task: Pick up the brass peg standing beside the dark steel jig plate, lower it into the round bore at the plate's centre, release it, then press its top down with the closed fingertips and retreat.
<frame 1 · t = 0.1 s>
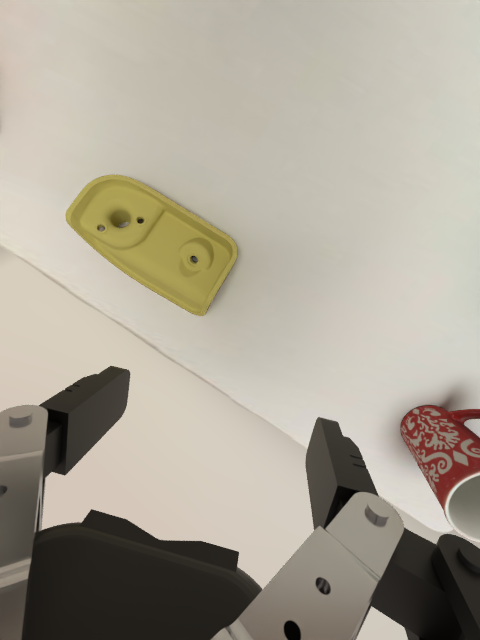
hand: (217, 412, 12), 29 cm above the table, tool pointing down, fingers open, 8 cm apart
plastic component: (168, 245, 41), on the table
mug: (433, 418, 41), on the table
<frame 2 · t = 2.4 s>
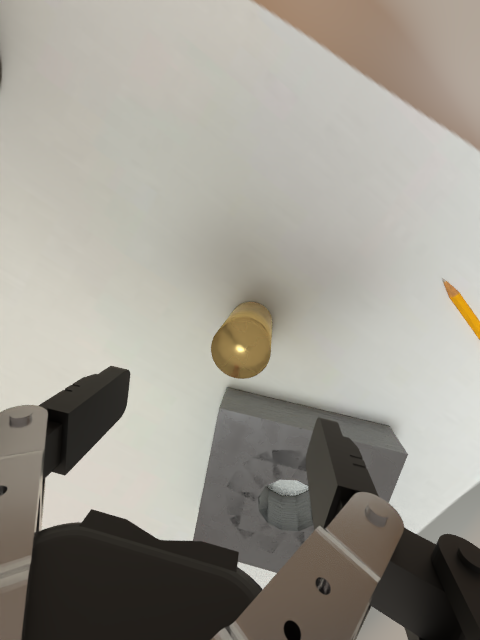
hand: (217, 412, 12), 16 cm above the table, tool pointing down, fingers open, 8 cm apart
brass peg: (250, 322, 27), on the table
jig: (287, 473, 30), on the table
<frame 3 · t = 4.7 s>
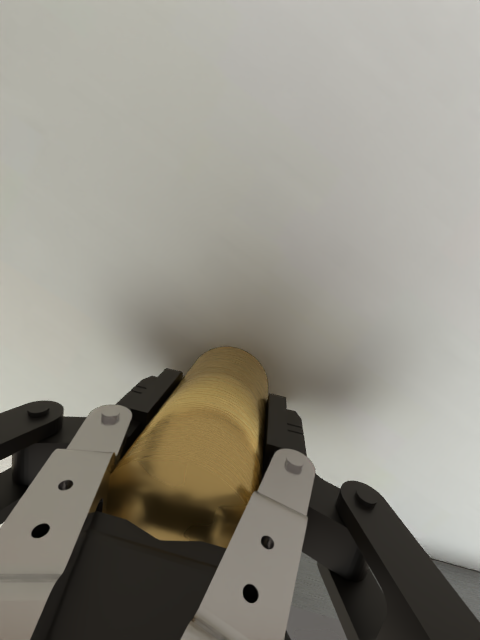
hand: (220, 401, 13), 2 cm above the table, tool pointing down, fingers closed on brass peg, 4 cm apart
brass peg: (228, 384, 14), on the table, touching gripper
jig: (293, 632, 17), on the table
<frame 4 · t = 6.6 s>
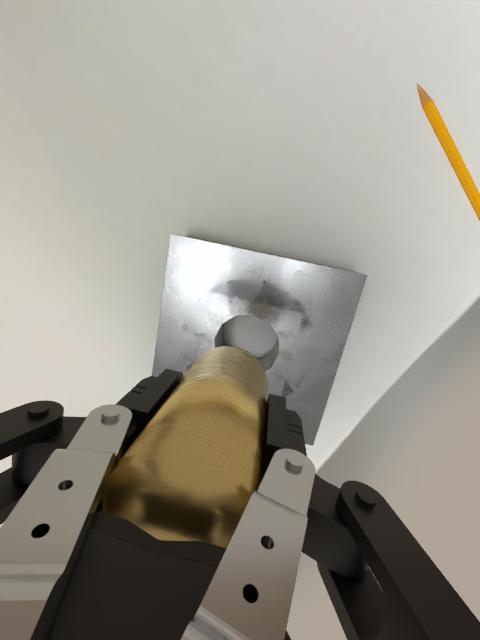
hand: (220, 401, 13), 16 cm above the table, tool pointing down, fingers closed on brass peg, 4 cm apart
brass peg: (228, 384, 14), point 15 cm above the table, touching gripper
jig: (250, 333, 29), on the table
pencil: (451, 162, 24), on the table
when the fingers open (4 cm above the table, at t = 8.6 s): brass peg drops 3 cm, resting in jig.
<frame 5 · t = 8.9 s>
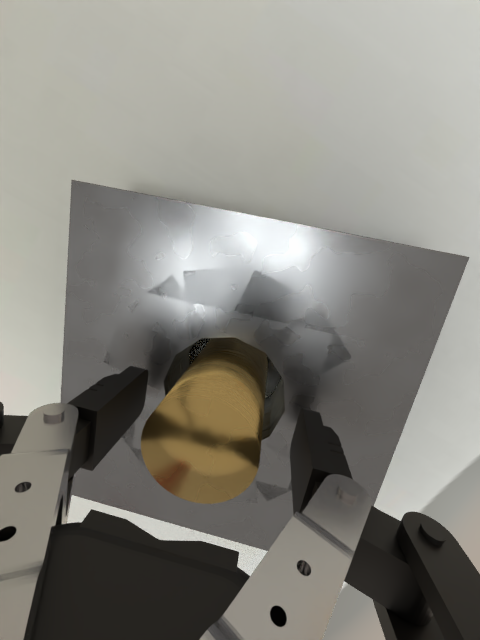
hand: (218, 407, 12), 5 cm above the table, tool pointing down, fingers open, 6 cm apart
brass peg: (234, 363, 17), resting in jig
jig: (235, 364, 17), on the table
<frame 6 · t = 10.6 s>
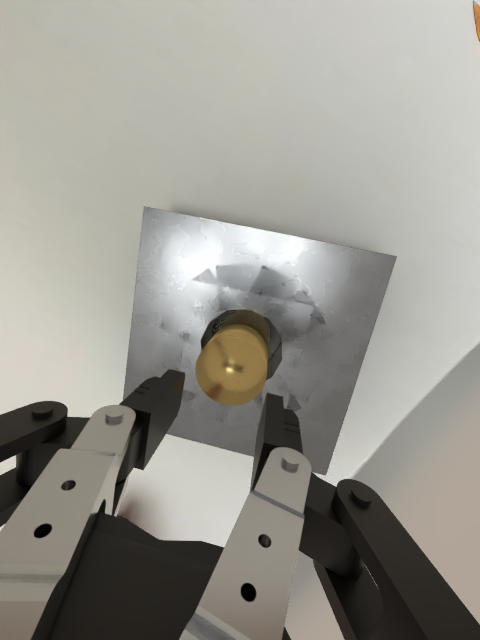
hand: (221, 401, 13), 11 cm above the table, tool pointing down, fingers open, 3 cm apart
brass peg: (245, 333, 24), resting in jig
jig: (246, 334, 24), on the table
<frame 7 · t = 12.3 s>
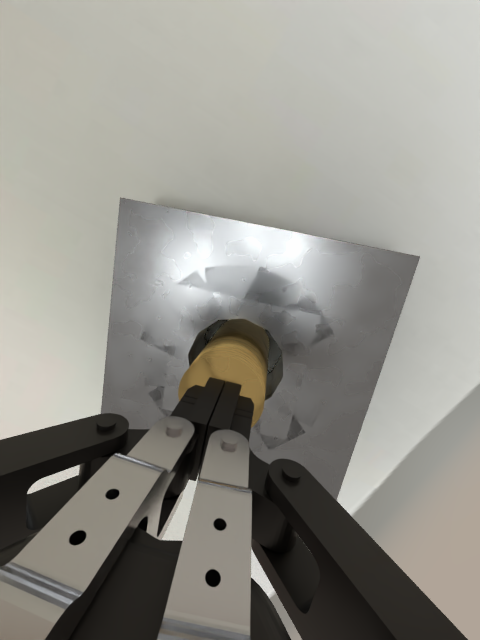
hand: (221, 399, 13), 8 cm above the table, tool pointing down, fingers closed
brass peg: (241, 344, 21), resting in jig
jig: (242, 344, 21), on the table
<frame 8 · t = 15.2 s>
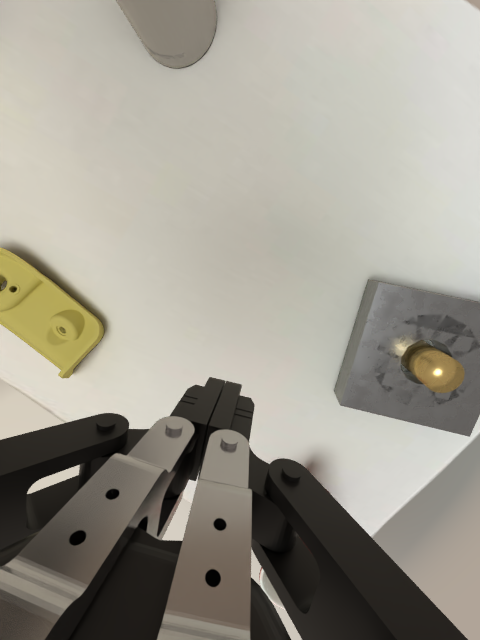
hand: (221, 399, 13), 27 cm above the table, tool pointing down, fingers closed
plastic component: (49, 307, 44), on the table
brass peg: (410, 351, 38), resting in jig
jig: (410, 351, 38), on the table
mug: (299, 480, 45), on the table
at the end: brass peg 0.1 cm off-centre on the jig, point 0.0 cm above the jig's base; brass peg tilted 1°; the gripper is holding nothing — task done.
